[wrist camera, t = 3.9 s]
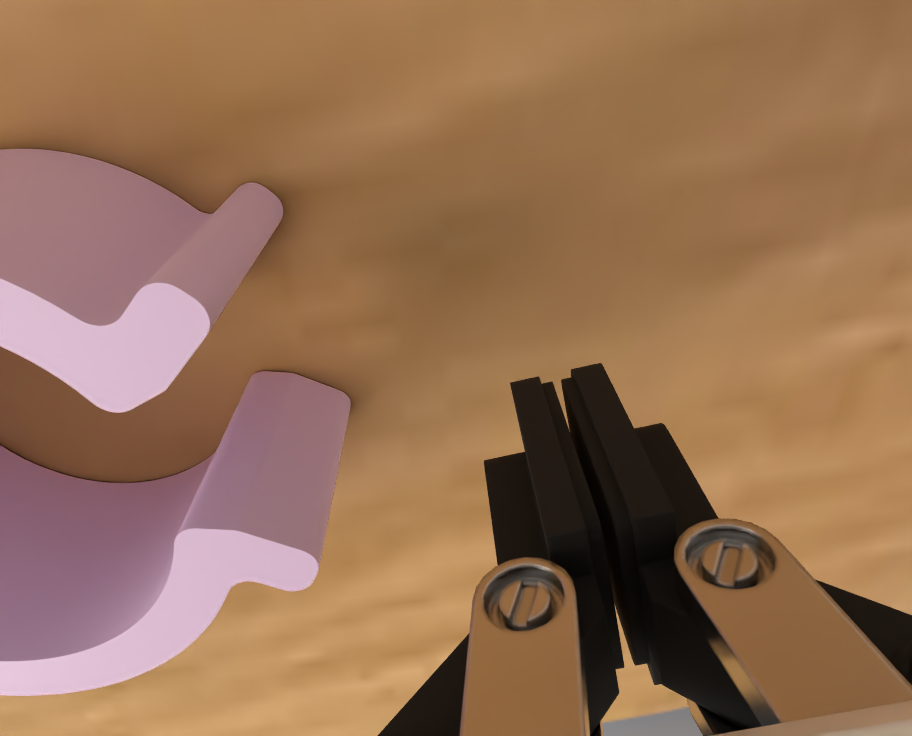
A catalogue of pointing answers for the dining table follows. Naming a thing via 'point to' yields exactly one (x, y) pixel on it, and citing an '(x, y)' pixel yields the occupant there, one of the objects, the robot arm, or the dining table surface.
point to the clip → (121, 389)
